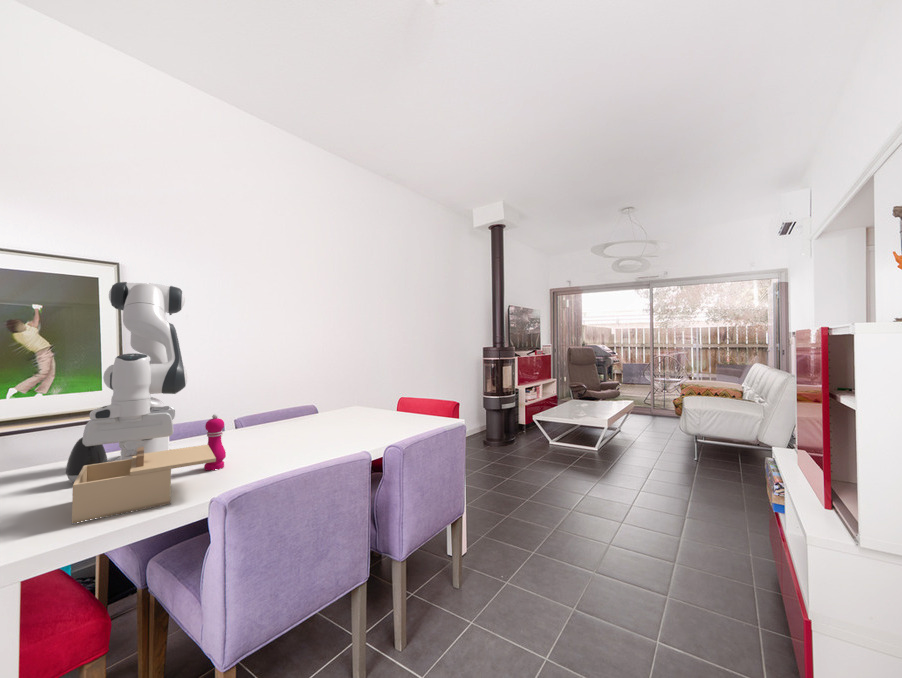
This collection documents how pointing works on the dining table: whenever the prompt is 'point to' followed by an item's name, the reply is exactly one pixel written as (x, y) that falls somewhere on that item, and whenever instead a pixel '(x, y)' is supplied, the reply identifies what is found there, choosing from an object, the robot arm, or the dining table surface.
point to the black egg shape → (84, 458)
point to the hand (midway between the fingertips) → (130, 456)
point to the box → (117, 490)
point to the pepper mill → (215, 442)
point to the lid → (170, 459)
